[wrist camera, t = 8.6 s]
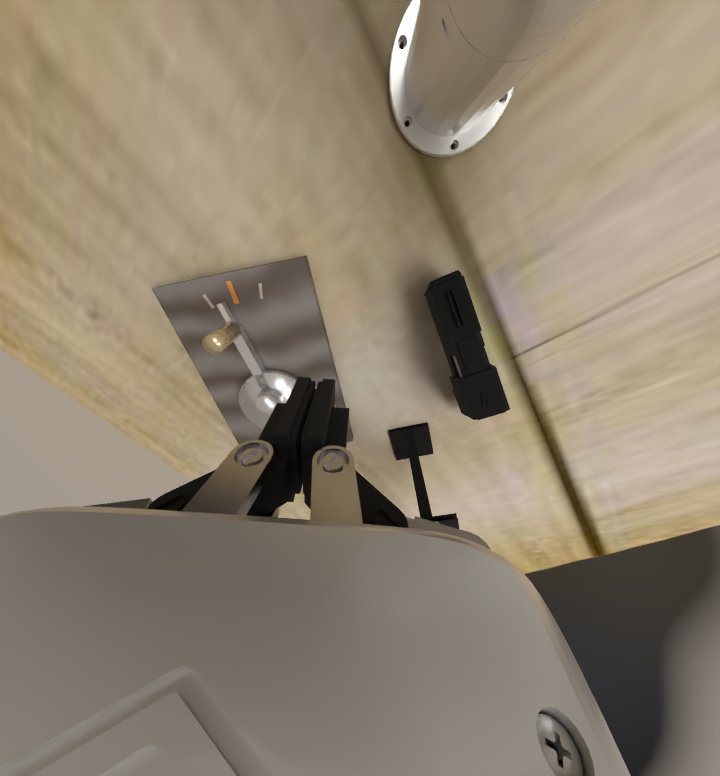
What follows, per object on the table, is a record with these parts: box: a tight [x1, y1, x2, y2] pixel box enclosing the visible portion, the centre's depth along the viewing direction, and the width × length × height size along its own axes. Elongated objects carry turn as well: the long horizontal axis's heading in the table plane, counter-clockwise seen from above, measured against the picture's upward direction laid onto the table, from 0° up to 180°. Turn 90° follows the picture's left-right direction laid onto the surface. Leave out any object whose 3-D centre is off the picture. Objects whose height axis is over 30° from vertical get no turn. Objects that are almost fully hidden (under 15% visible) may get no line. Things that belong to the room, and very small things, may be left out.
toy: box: [424, 270, 510, 420], centre depth 38 cm, size 5×20×15 cm, turn 23°
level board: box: [152, 256, 353, 445], centre depth 43 cm, size 32×22×4 cm
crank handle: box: [202, 302, 297, 429], centre depth 39 cm, size 23×12×7 cm, turn 17°
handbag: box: [388, 423, 459, 529], centre depth 39 cm, size 10×8×30 cm
